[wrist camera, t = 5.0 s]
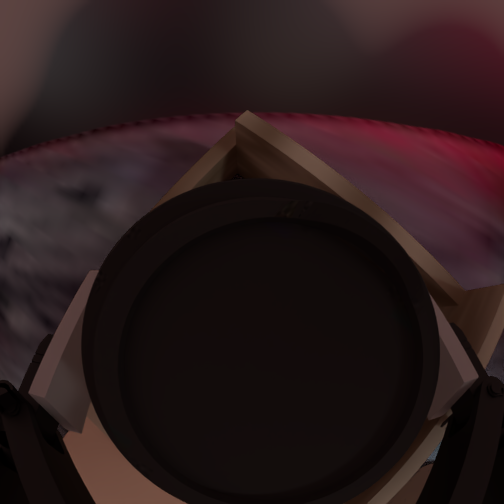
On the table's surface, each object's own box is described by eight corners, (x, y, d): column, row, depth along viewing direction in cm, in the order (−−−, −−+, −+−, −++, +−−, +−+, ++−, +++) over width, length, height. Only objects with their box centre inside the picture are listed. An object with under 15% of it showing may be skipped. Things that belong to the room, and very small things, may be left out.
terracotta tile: (229, 492, 16) (229, 502, 15) (149, 548, 14) (145, 556, 13) (102, 394, 18) (93, 398, 16) (46, 466, 15) (38, 472, 14)
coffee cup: (265, 420, 18) (307, 591, 3) (158, 343, 19) (-12, 389, 4) (343, 315, 19) (525, 303, 5) (237, 238, 20) (225, 69, 6)
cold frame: (418, 306, 19) (515, 295, 10) (267, 490, 16) (282, 580, 7) (235, 157, 21) (232, 57, 12) (79, 338, 18) (-16, 344, 9)
